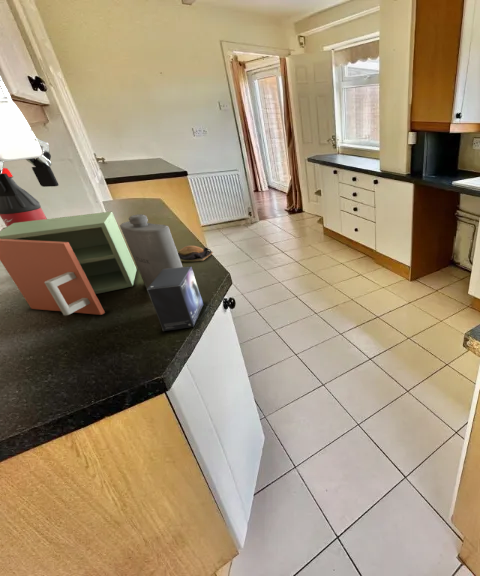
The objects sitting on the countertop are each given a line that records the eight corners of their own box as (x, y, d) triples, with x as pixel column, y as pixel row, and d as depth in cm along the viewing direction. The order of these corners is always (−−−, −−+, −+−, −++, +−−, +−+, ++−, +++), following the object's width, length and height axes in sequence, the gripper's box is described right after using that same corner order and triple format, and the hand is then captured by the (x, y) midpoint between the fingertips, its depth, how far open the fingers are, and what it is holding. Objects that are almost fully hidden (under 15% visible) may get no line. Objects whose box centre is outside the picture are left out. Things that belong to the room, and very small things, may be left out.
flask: (138, 287, 86) (107, 215, 77) (160, 278, 91) (132, 209, 81) (173, 299, 80) (143, 222, 71) (194, 289, 85) (169, 215, 75)
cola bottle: (60, 266, 100) (4, 165, 86) (81, 268, 98) (28, 166, 84) (28, 278, 93) (-38, 170, 78) (51, 280, 91) (-13, 170, 77)
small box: (196, 327, 69) (180, 285, 64) (162, 332, 68) (144, 289, 63) (205, 303, 78) (192, 264, 73) (176, 307, 76) (160, 268, 72)
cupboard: (132, 286, 87) (104, 222, 78) (35, 306, 78) (-10, 237, 69) (136, 269, 97) (111, 211, 88) (50, 286, 88) (13, 223, 79)
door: (79, 327, 69) (35, 253, 61) (5, 320, 72) (-46, 248, 64) (105, 312, 75) (68, 242, 66) (35, 306, 78) (-8, 238, 69)
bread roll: (169, 262, 101) (165, 252, 100) (184, 252, 109) (180, 242, 107) (202, 262, 101) (198, 251, 99) (214, 252, 109) (211, 242, 107)
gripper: (2, 95, 64) (46, 183, 72) (-106, 88, 48) (-35, 201, 57) (42, 95, 64) (81, 182, 72) (-52, 88, 49) (11, 199, 57)
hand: (30, 190), depth 64 cm, fingers open, 9 cm apart
